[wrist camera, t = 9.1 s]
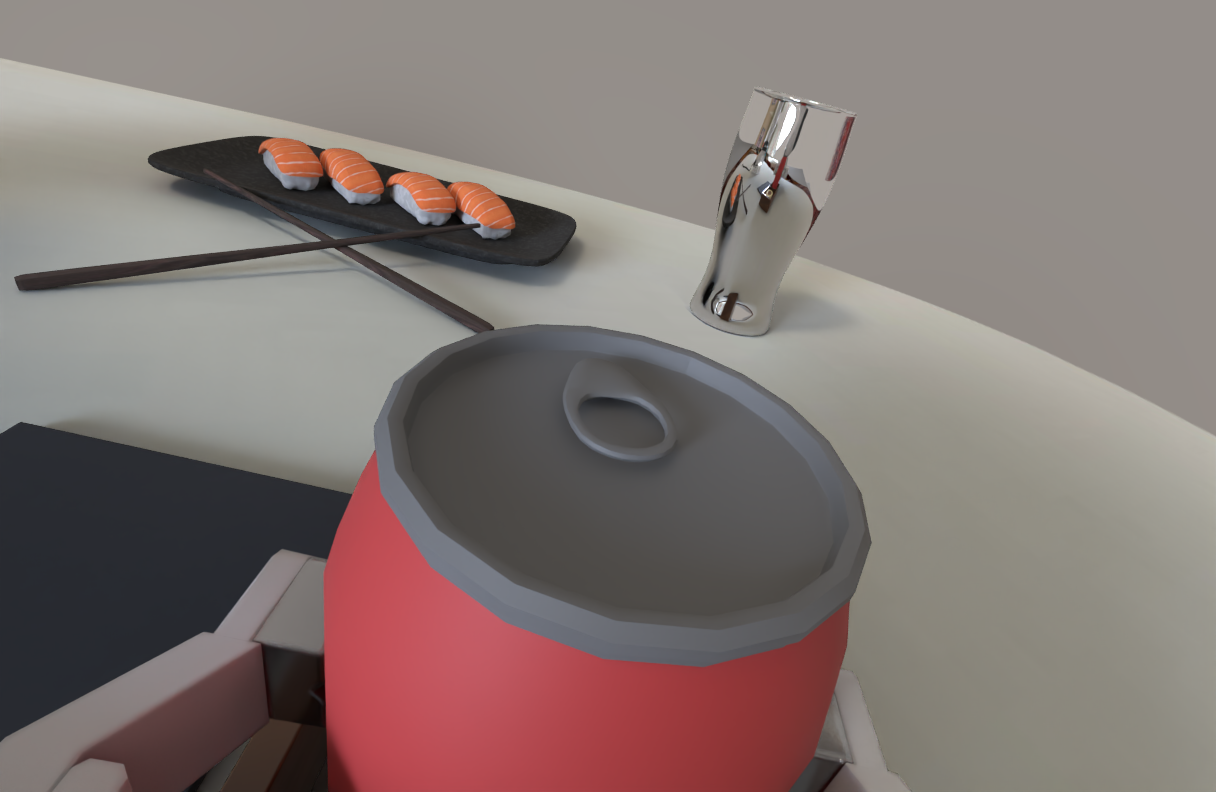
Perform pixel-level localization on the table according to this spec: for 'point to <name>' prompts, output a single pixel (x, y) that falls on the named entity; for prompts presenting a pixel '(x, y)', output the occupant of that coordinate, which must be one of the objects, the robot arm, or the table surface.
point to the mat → (127, 557)
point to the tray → (280, 759)
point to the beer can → (587, 575)
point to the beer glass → (768, 205)
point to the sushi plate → (349, 212)
